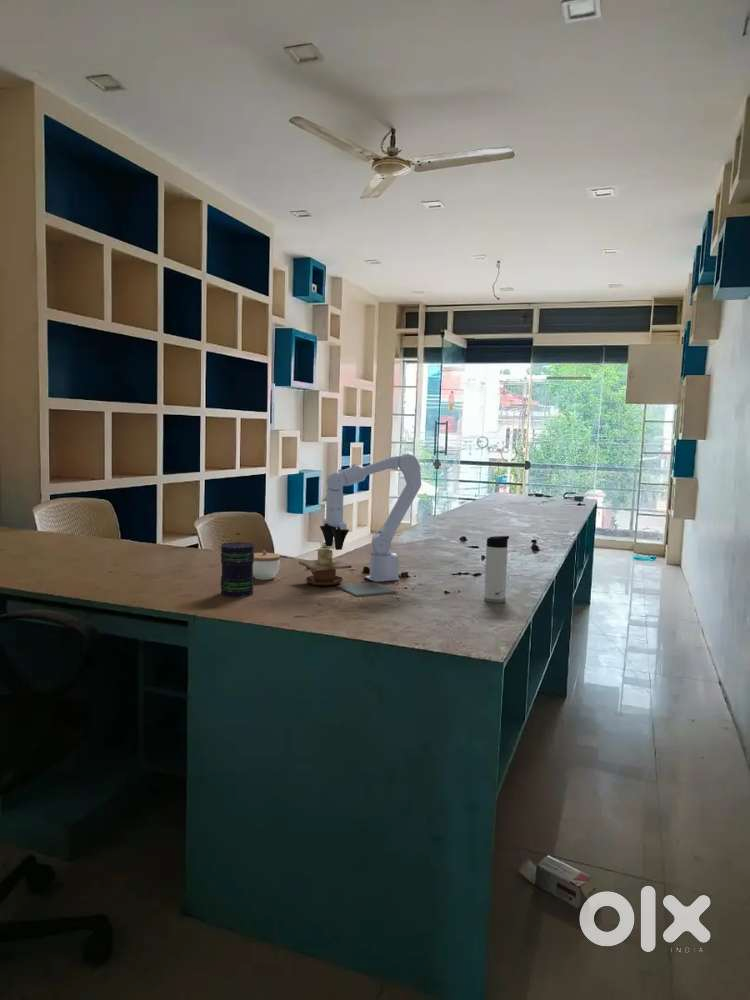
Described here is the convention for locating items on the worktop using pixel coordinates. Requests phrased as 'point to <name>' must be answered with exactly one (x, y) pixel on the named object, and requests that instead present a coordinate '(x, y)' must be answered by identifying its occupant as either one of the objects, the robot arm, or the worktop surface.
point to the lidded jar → (265, 565)
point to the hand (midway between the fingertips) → (333, 547)
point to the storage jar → (237, 569)
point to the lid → (324, 562)
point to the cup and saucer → (324, 578)
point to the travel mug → (496, 569)
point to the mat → (366, 589)
